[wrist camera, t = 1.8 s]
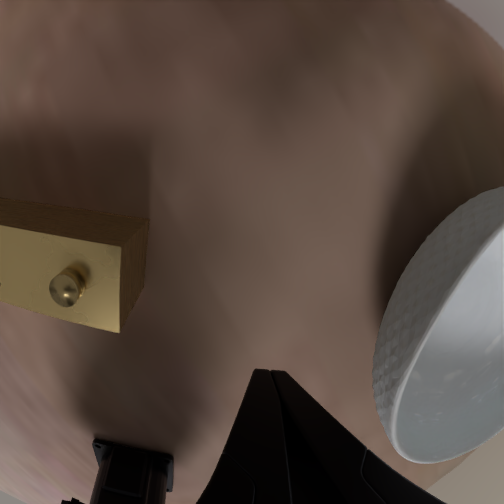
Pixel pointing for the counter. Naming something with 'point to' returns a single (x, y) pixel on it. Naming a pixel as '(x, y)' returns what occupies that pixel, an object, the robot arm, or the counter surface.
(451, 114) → the counter surface
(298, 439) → the robot arm
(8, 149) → the counter surface
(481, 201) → the cereal bowl
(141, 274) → the brass block with pegs
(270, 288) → the counter surface
